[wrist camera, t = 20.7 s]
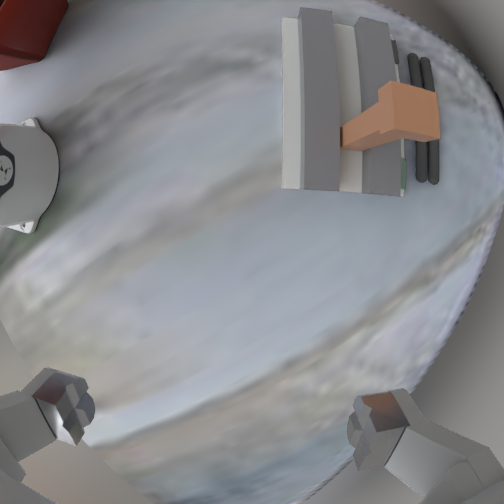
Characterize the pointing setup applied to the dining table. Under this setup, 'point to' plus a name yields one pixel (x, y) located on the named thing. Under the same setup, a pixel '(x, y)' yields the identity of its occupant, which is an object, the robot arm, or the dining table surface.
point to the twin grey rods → (432, 145)
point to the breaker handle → (394, 118)
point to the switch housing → (335, 104)
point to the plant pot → (27, 30)
